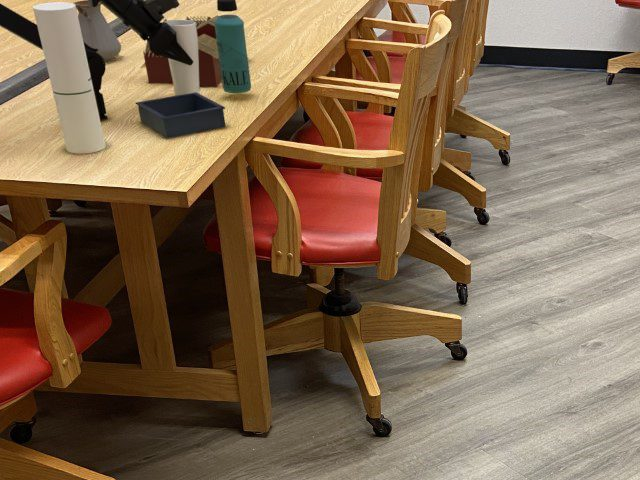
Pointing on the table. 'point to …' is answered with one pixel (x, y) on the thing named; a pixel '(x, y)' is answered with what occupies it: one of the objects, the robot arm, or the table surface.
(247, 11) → the table surface
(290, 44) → the table surface
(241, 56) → the beverage bottle
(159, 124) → the dark blue square tray
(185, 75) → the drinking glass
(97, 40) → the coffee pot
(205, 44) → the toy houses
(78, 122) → the cylindrical container
